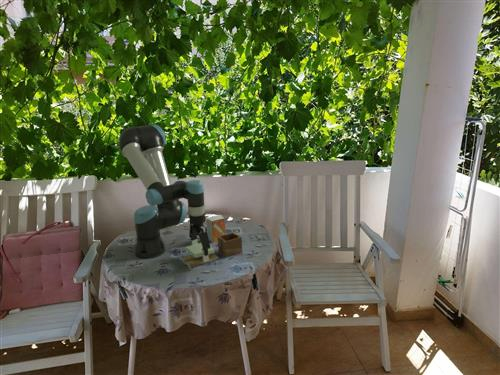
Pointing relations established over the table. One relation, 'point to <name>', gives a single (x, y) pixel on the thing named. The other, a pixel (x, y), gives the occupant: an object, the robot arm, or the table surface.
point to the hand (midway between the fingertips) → (200, 256)
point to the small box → (215, 227)
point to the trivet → (198, 259)
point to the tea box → (230, 244)
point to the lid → (198, 250)
